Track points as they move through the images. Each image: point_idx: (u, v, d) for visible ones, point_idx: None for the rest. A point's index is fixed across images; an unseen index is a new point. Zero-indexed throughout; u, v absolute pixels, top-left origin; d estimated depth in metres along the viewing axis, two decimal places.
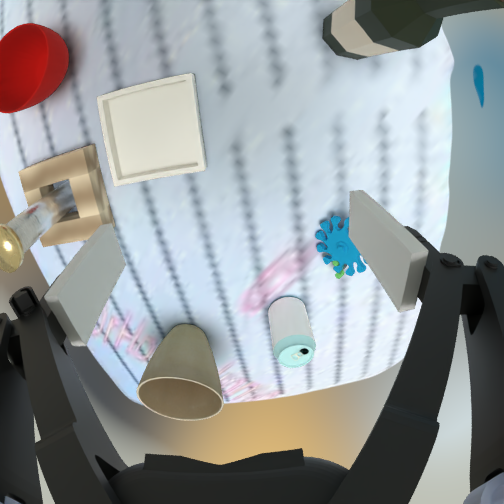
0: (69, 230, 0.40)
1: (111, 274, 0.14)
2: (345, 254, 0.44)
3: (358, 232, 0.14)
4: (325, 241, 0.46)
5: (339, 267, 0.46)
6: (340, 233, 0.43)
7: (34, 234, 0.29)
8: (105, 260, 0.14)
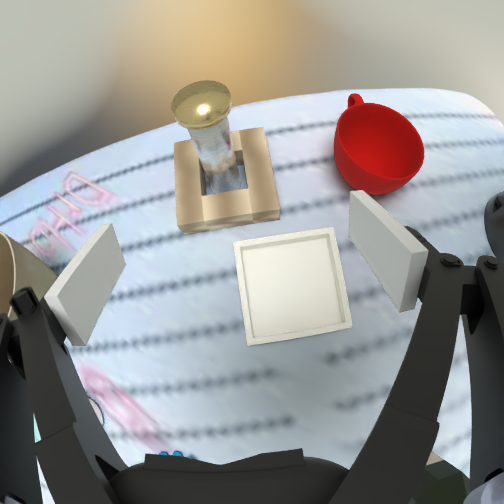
0: (188, 180, 0.41)
1: (111, 274, 0.14)
2: None
3: (358, 232, 0.14)
4: None
5: None
6: None
7: (204, 143, 0.30)
8: (105, 260, 0.14)
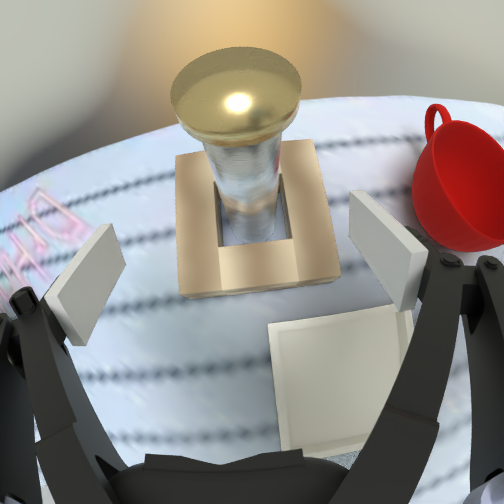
0: (197, 219, 0.26)
1: (111, 274, 0.14)
2: None
3: (358, 232, 0.14)
4: None
5: None
6: None
7: (235, 172, 0.16)
8: (106, 260, 0.14)
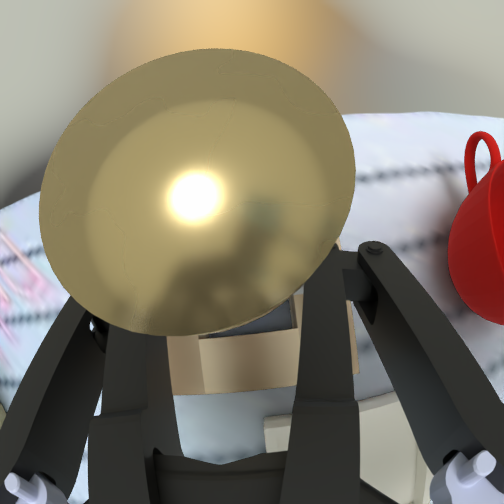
0: None
1: None
2: None
3: None
4: None
5: None
6: None
7: None
8: None
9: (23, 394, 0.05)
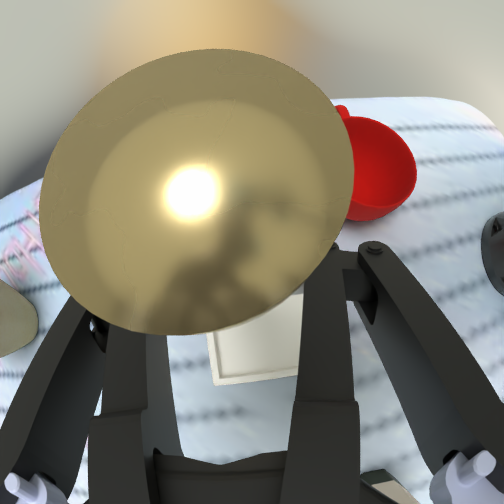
0: None
1: None
2: None
3: None
4: None
5: None
6: None
7: None
8: None
9: (23, 394, 0.05)
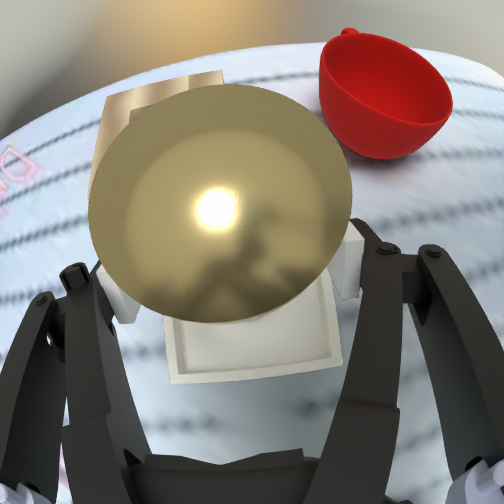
0: (112, 138, 0.26)
1: None
2: None
3: None
4: None
5: None
6: None
7: None
8: None
9: None
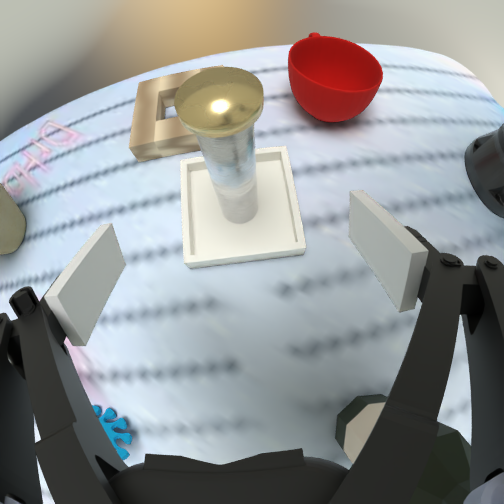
0: (146, 109, 0.38)
1: (111, 274, 0.14)
2: None
3: (358, 232, 0.14)
4: (102, 418, 0.29)
5: None
6: None
7: (220, 157, 0.22)
8: (106, 260, 0.14)
9: None
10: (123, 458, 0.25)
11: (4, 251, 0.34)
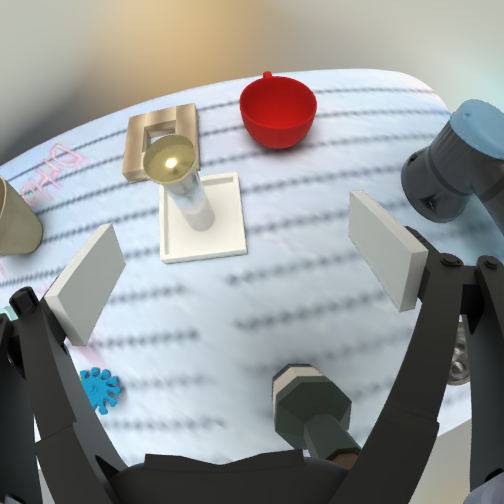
0: (135, 142, 0.50)
1: (111, 274, 0.14)
2: (85, 391, 0.38)
3: (358, 232, 0.14)
4: (99, 377, 0.41)
5: None
6: (104, 391, 0.39)
7: (174, 193, 0.34)
8: (105, 260, 0.14)
9: None
10: (112, 405, 0.38)
11: (26, 251, 0.47)
